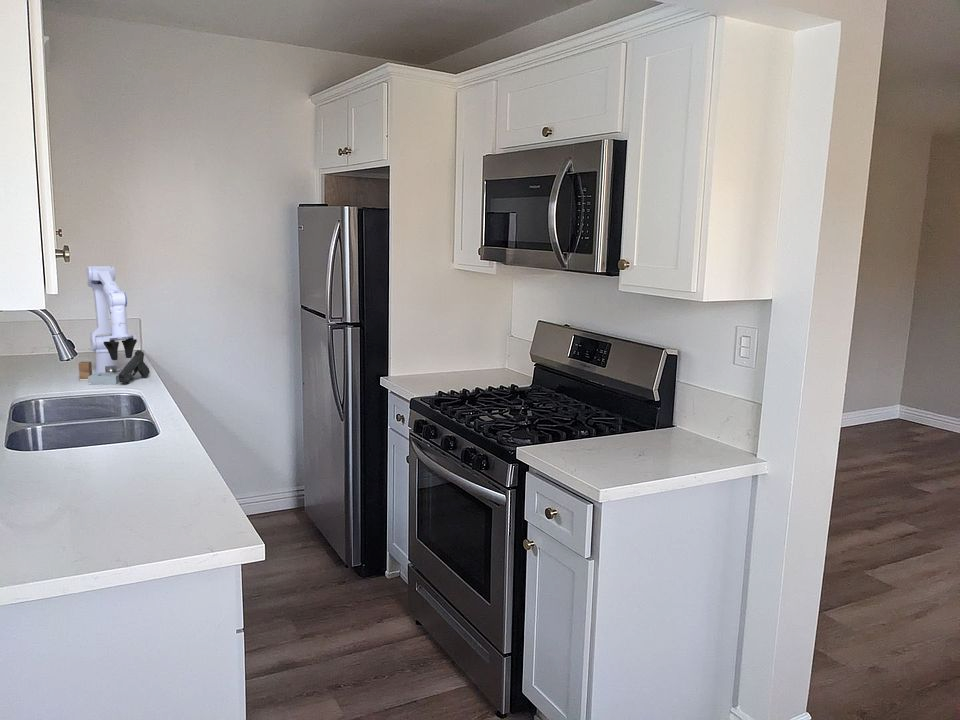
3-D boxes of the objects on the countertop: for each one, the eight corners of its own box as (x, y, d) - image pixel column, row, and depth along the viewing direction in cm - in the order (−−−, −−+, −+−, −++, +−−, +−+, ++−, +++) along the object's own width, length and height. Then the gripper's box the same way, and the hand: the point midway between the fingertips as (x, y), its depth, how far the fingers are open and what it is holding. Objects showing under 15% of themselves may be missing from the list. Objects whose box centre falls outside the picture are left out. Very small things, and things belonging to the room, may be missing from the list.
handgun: (151, 372, 307) (142, 348, 300) (130, 398, 293) (121, 372, 286) (145, 372, 307) (137, 347, 300) (125, 398, 293) (116, 372, 286)
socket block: (96, 380, 298) (95, 372, 297) (123, 379, 299) (122, 372, 299) (88, 384, 289) (87, 376, 288) (116, 384, 290) (115, 376, 290)
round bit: (107, 377, 303) (106, 365, 302) (119, 377, 304) (118, 365, 303) (104, 379, 299) (103, 367, 298) (116, 379, 299) (115, 367, 299)
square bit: (82, 378, 299) (81, 361, 298) (92, 378, 300) (91, 361, 299) (79, 380, 296) (78, 363, 295) (89, 380, 296) (88, 363, 295)
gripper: (113, 324, 281) (116, 360, 283) (141, 322, 295) (143, 357, 297) (98, 324, 283) (101, 360, 285) (126, 322, 297) (128, 357, 299)
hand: (121, 359), depth 291 cm, fingers open, 7 cm apart
